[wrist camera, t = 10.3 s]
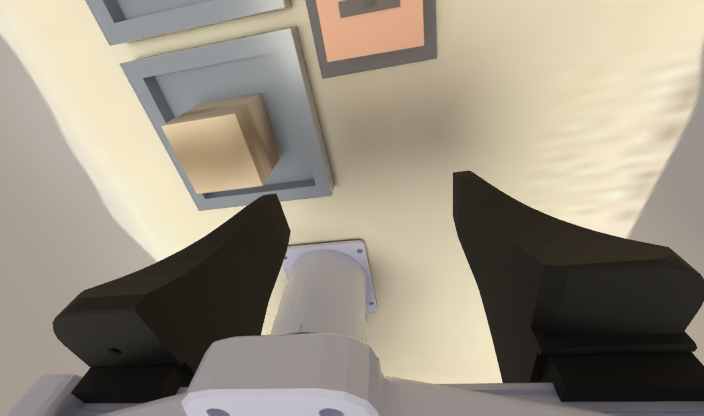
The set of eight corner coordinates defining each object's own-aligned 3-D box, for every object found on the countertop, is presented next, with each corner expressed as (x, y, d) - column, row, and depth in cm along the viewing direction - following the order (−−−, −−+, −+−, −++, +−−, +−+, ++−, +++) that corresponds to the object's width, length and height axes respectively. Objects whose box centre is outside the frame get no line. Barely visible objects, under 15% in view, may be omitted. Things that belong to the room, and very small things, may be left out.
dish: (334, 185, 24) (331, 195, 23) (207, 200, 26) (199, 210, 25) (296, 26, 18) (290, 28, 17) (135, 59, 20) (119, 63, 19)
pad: (435, 56, 19) (436, 58, 18) (323, 76, 20) (322, 78, 19) (431, -101, 15) (432, -105, 14) (293, -66, 16) (290, -68, 16)
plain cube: (281, 155, 23) (262, 185, 19) (225, 163, 23) (196, 193, 20) (261, 92, 20) (234, 113, 17) (199, 103, 21) (160, 126, 17)
